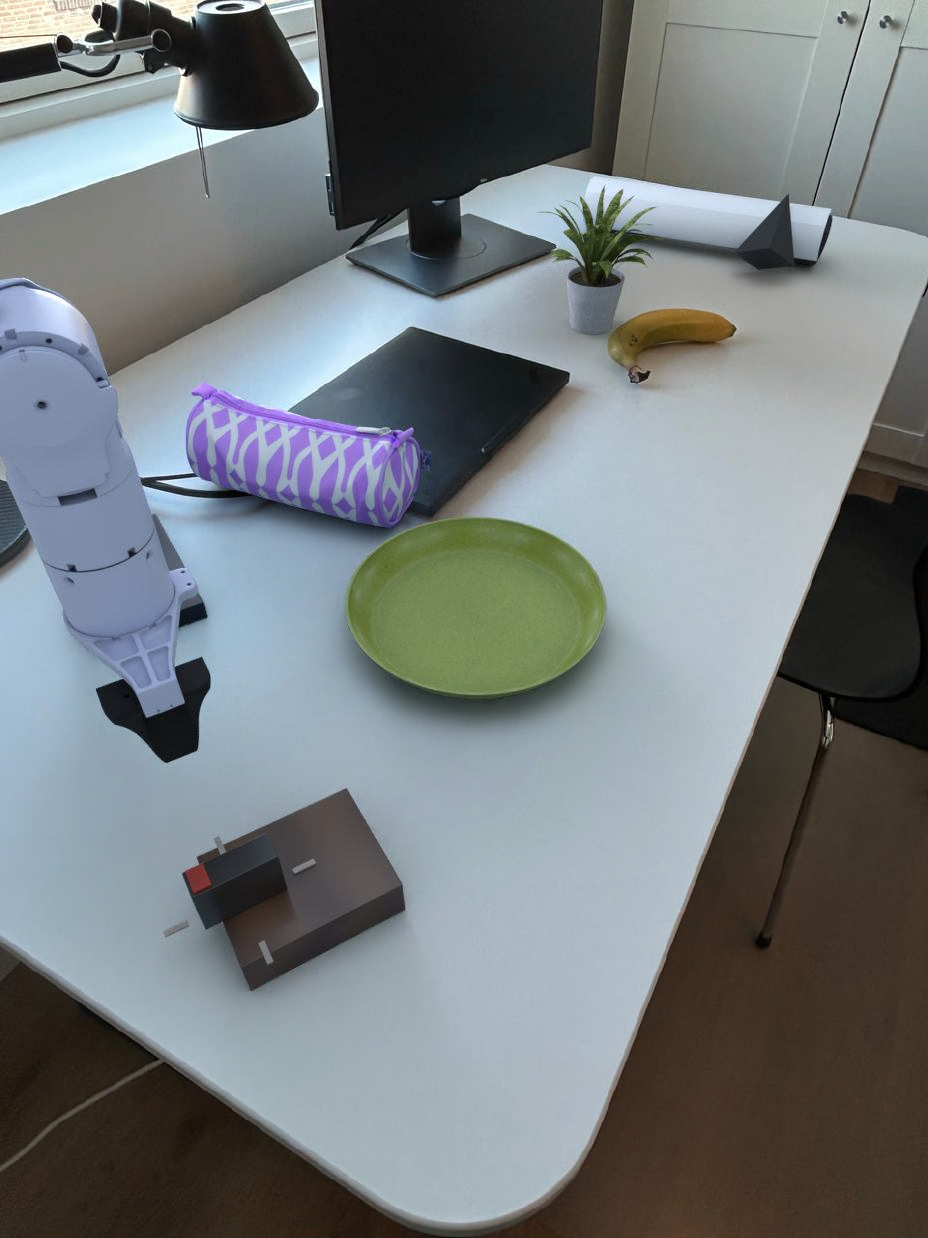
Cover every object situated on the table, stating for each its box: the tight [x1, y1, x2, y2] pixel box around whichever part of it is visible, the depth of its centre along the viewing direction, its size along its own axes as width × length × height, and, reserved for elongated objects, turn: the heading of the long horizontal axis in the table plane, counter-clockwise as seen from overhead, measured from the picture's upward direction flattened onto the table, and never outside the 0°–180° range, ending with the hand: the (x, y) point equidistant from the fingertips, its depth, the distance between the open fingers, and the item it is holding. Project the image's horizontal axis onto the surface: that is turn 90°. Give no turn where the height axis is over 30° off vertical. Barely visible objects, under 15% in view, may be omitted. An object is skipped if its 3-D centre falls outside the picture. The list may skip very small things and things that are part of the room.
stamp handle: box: [181, 833, 287, 931], centre depth 50 cm, size 5×2×4 cm, turn 121°
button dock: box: [151, 513, 209, 628], centre depth 74 cm, size 14×9×4 cm, turn 30°
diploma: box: [582, 175, 834, 271], centre depth 124 cm, size 35×9×14 cm
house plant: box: [537, 186, 666, 335], centre depth 105 cm, size 14×14×16 cm
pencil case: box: [185, 381, 433, 528], centre depth 82 cm, size 22×9×10 cm, turn 71°
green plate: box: [344, 516, 607, 700], centre depth 71 cm, size 21×21×3 cm
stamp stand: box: [162, 787, 406, 992], centre depth 53 cm, size 13×9×3 cm
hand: (162, 709), depth 54 cm, fingers open, 7 cm apart
